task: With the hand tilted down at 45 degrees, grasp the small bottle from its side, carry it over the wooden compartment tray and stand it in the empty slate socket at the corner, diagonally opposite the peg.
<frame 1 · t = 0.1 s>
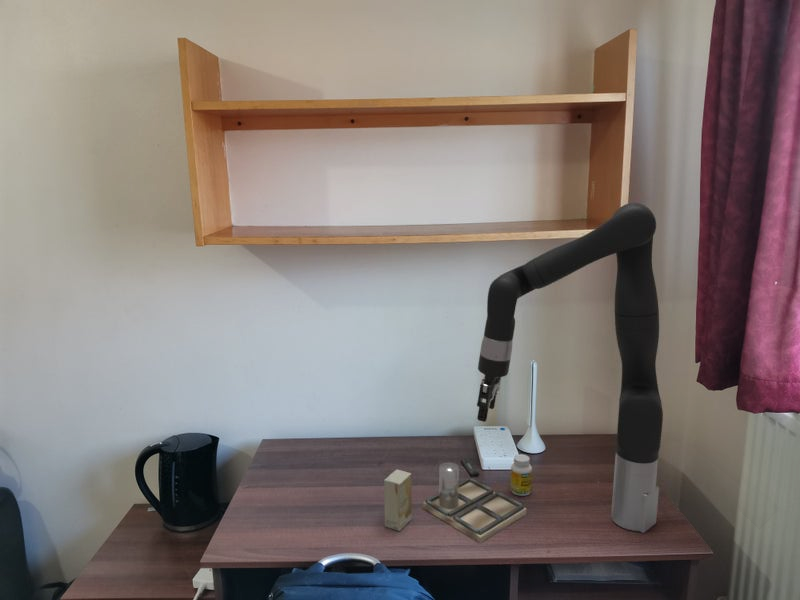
hand: (485, 414, 149), 22 cm above the table, tool pointing down, fingers open, 8 cm apart
skincare box: (398, 523, 142), on the table
wooden compartment tray: (474, 511, 146), on the table
usb stick: (469, 470, 167), on the table
supplement bottle: (520, 491, 155), on the table
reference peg: (448, 509, 147), resting on wooden compartment tray
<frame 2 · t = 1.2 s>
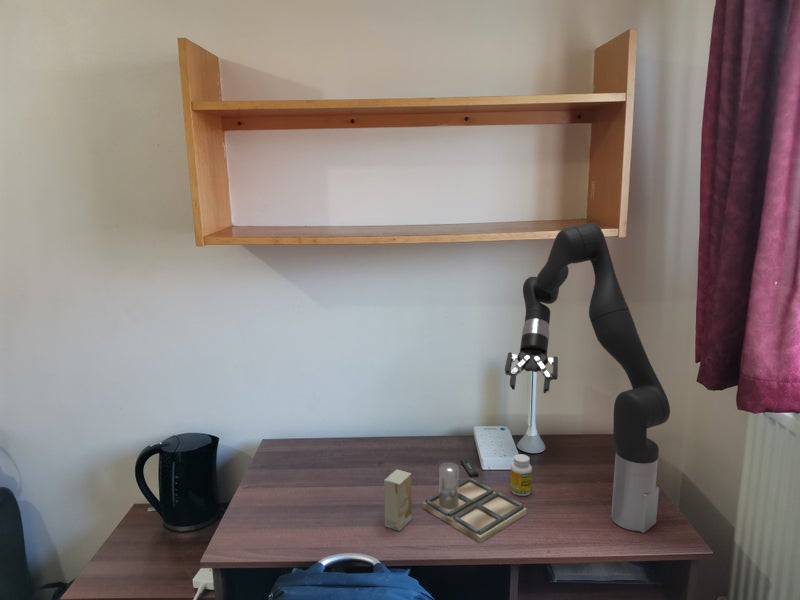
hand: (528, 390, 160), 24 cm above the table, tool tilted 45°, fingers open, 8 cm apart
nothing on the table moved.
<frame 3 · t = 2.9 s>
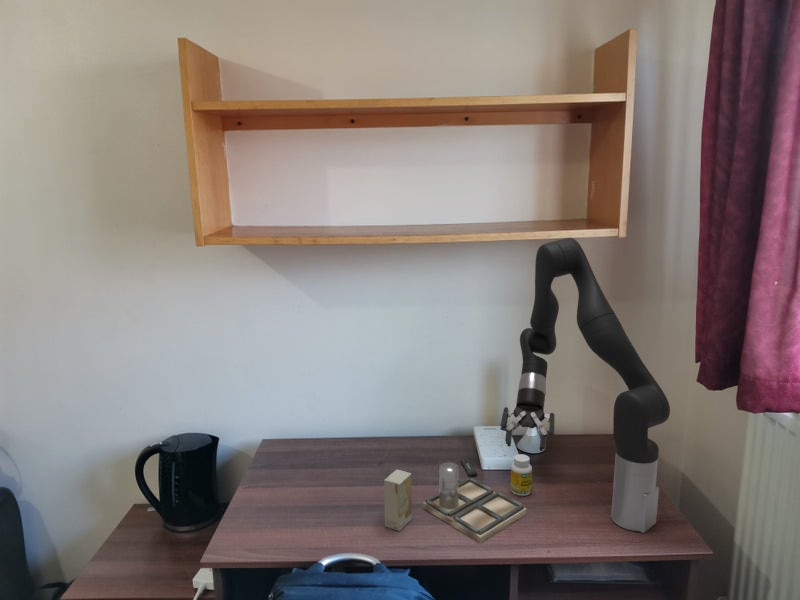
hand: (524, 447, 157), 10 cm above the table, tool tilted 45°, fingers open, 8 cm apart
nothing on the table moved.
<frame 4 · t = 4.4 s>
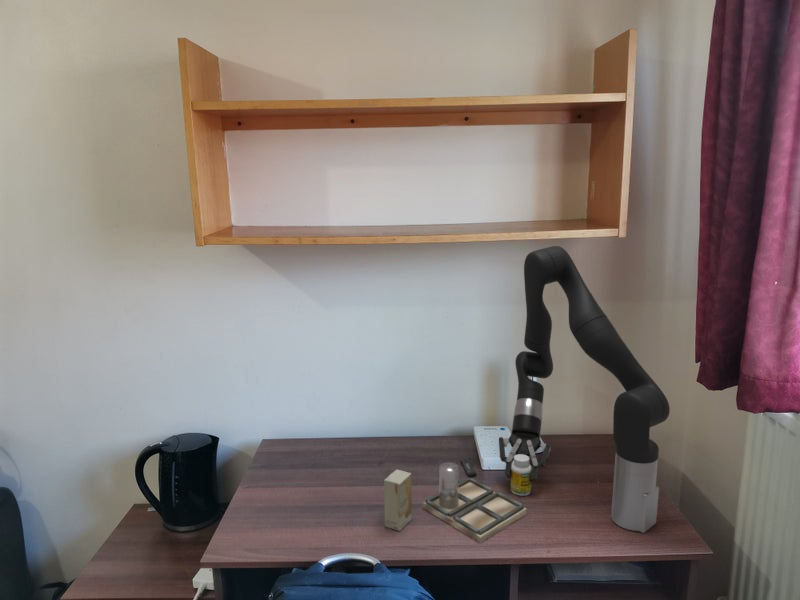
hand: (520, 479, 152), 4 cm above the table, tool tilted 45°, fingers closed on supplement bottle, 5 cm apart
supplement bottle: (520, 491, 155), on the table, touching gripper
everything else where it was.
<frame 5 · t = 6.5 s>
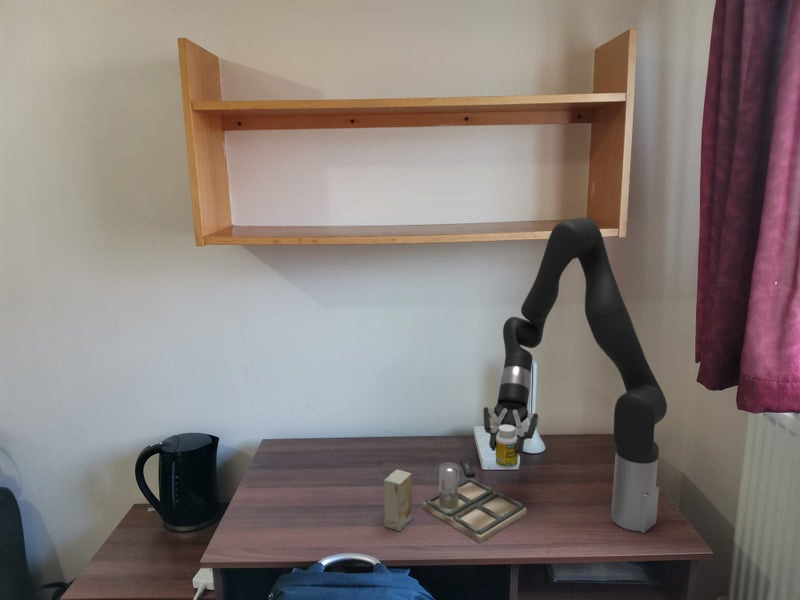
hand: (505, 451, 143), 16 cm above the table, tool tilted 45°, fingers closed on supplement bottle, 5 cm apart
supplement bottle: (506, 464, 145), point 11 cm above the table, touching gripper
everything else where it was.
when the fingers open (7 cm above the table, at t = 8.9 s): supplement bottle drops 1 cm, resting on wooden compartment tray.
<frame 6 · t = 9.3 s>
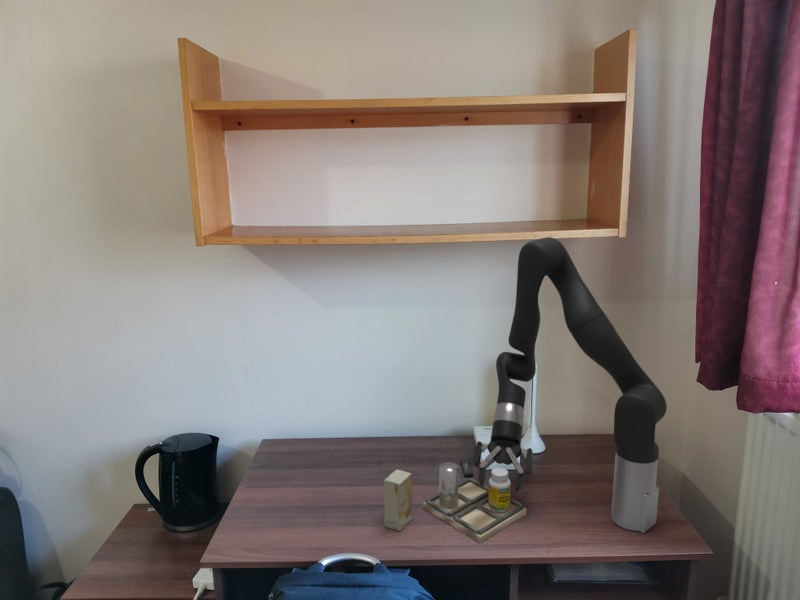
hand: (499, 487, 142), 8 cm above the table, tool tilted 45°, fingers open, 8 cm apart
supplement bottle: (499, 507, 145), point 1 cm above the table, touching wooden compartment tray
everything else where it was.
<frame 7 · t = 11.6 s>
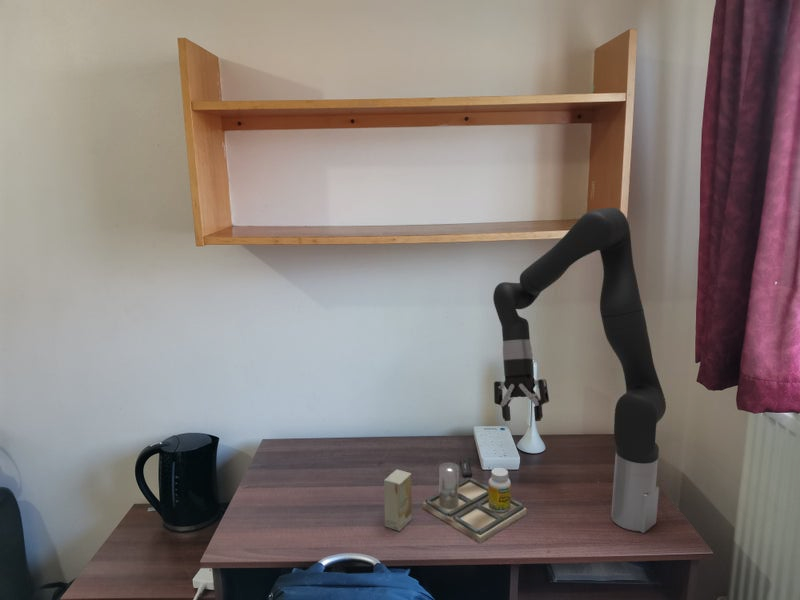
hand: (522, 420, 152), 19 cm above the table, tool tilted 20°, fingers open, 8 cm apart
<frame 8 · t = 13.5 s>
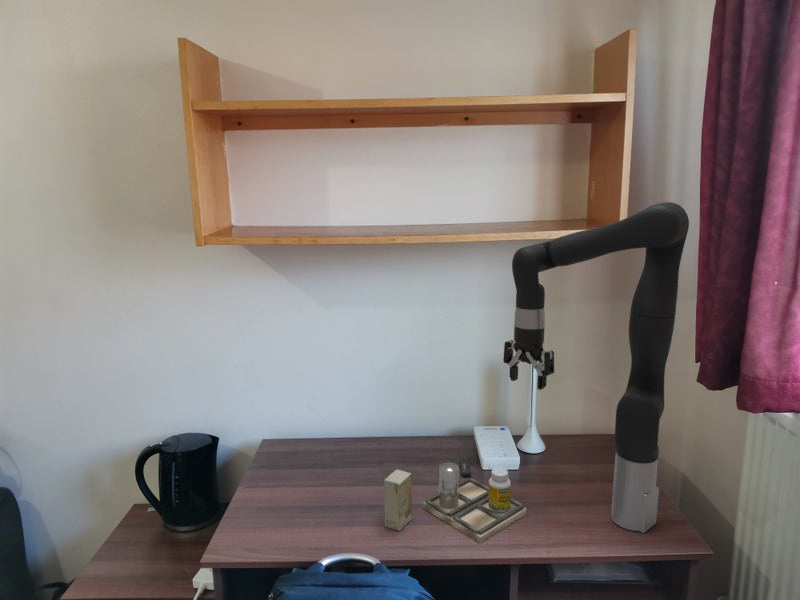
hand: (527, 384, 153), 28 cm above the table, tool pointing down, fingers open, 8 cm apart
at the end: supplement bottle 0.2 cm from the target spot on the wooden compartment tray, point 1.3 cm above the wooden compartment tray's base; supplement bottle tilted 0°; the gripper is holding nothing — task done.
